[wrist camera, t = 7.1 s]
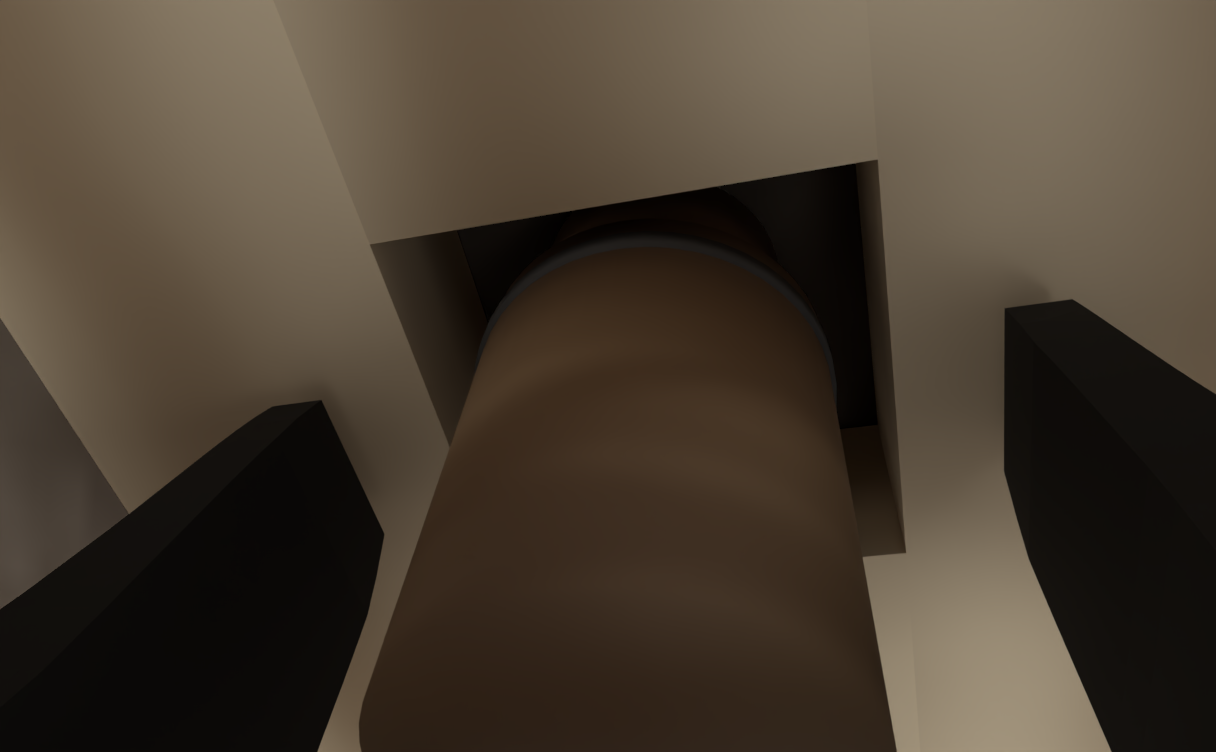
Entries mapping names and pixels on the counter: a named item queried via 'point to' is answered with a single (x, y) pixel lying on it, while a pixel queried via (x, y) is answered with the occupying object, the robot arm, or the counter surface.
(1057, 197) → the board
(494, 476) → the peg
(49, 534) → the counter surface
